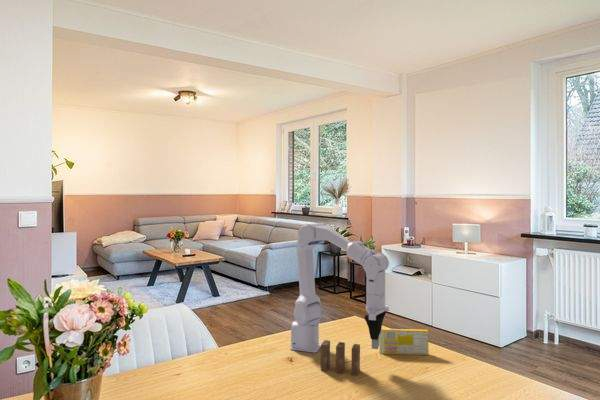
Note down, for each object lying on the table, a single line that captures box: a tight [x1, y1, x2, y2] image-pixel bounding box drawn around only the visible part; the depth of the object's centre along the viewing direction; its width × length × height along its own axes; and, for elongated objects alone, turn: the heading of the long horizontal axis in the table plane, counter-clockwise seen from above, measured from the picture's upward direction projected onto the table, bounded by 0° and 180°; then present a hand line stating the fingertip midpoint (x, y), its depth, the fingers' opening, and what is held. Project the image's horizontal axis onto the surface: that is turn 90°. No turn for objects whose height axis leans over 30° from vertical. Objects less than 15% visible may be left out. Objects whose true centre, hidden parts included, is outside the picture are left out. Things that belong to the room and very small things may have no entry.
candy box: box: [378, 327, 430, 356], centre depth 140 cm, size 16×2×8 cm, turn 84°
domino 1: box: [320, 339, 331, 372], centre depth 128 cm, size 2×4×8 cm, turn 161°
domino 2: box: [335, 341, 346, 374], centre depth 127 cm, size 2×4×8 cm, turn 161°
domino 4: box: [371, 337, 380, 350], centre depth 128 cm, size 2×4×8 cm, turn 161°
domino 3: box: [350, 343, 361, 376], centre depth 125 cm, size 2×4×8 cm, turn 161°
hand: (375, 336), depth 128 cm, fingers closed on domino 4, 4 cm apart
